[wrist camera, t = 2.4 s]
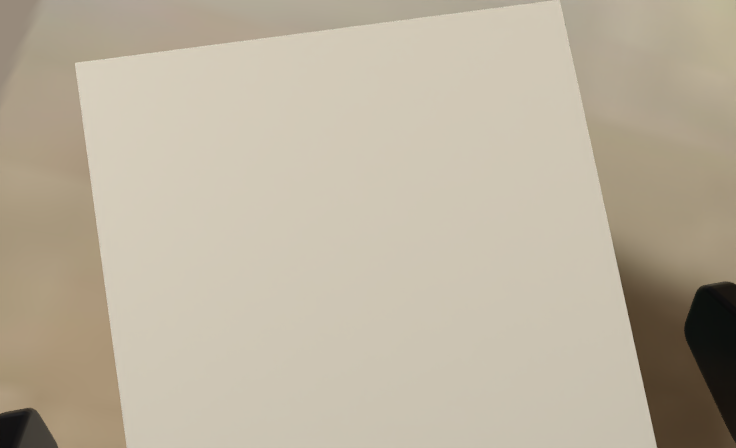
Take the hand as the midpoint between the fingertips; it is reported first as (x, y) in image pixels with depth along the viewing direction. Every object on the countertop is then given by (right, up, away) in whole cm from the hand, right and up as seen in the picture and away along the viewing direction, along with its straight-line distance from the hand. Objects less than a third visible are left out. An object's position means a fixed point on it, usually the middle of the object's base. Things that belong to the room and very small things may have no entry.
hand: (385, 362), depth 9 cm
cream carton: (-1, 0, +9) cm, 9 cm away
